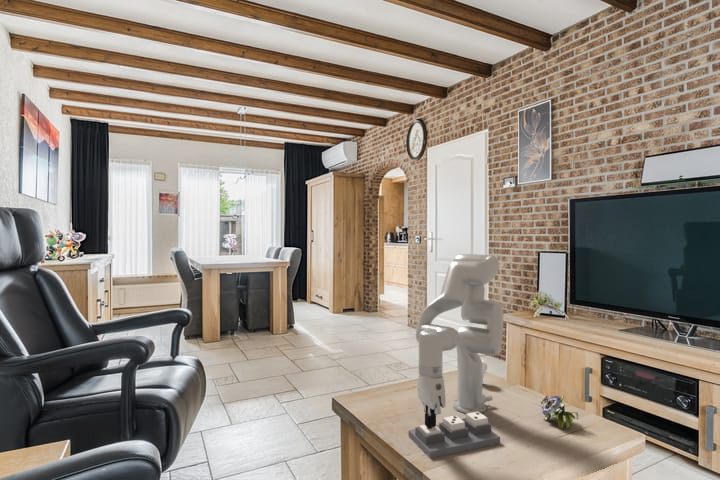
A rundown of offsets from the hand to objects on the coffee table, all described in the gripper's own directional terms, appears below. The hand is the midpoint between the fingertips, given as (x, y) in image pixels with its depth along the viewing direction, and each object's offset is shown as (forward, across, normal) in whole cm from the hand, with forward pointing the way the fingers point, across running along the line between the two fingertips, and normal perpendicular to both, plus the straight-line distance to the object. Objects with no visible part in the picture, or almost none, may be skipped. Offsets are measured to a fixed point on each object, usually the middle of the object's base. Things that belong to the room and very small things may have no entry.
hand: (430, 425), depth 127 cm
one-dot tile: (+4, 0, 0) cm, 4 cm away
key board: (+6, 0, -9) cm, 10 cm away
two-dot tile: (+2, 0, -18) cm, 18 cm away
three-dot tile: (+2, 0, -9) cm, 9 cm away
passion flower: (+7, -2, -52) cm, 52 cm away
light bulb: (+7, +39, -49) cm, 63 cm away
